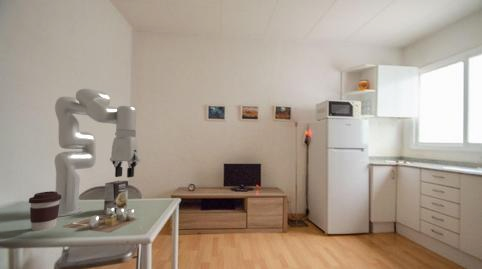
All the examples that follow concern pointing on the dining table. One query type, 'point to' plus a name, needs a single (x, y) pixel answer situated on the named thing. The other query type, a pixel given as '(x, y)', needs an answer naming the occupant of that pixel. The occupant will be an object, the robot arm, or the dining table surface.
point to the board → (102, 228)
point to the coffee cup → (44, 210)
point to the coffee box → (116, 195)
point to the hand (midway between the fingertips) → (124, 176)
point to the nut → (110, 220)
